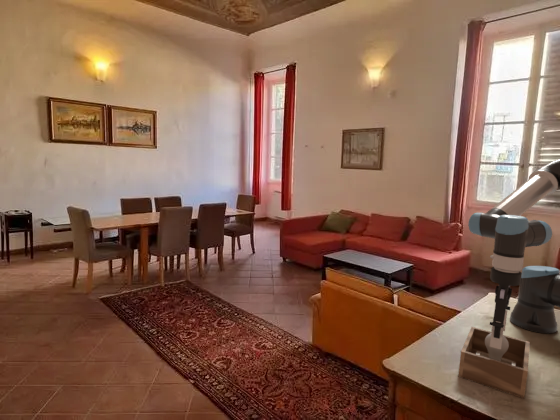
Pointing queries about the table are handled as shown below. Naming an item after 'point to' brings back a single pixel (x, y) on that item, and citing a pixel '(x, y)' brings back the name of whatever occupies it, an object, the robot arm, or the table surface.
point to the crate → (495, 363)
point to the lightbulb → (494, 352)
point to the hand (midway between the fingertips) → (497, 338)
